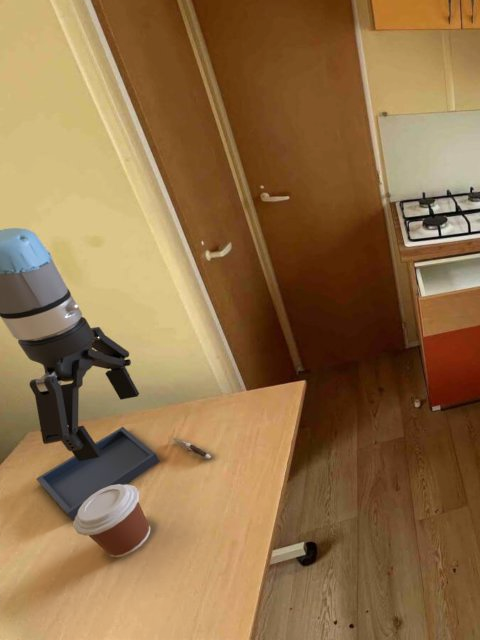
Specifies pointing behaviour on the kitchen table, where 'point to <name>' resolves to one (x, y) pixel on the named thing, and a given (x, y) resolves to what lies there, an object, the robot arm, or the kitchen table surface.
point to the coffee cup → (114, 520)
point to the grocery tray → (98, 470)
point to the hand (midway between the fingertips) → (111, 424)
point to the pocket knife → (194, 449)
